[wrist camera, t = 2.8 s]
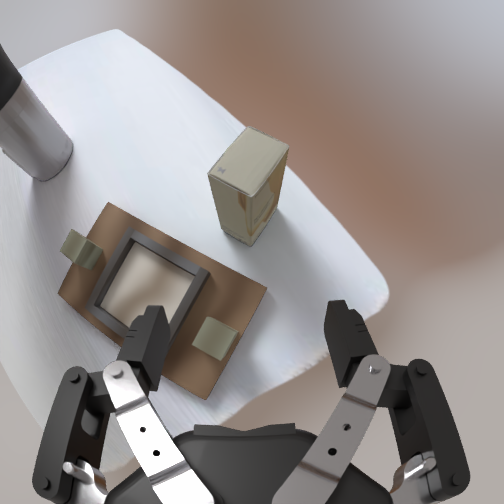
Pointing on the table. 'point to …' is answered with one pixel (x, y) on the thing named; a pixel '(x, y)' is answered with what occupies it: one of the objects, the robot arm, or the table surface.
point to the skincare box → (248, 183)
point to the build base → (160, 294)
